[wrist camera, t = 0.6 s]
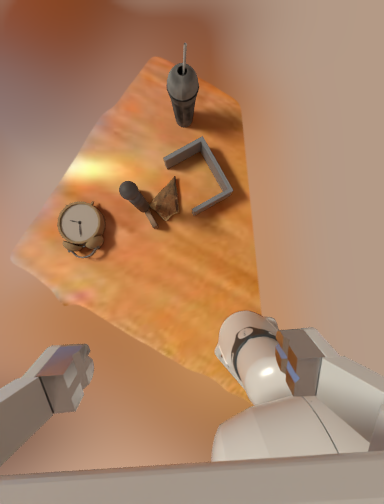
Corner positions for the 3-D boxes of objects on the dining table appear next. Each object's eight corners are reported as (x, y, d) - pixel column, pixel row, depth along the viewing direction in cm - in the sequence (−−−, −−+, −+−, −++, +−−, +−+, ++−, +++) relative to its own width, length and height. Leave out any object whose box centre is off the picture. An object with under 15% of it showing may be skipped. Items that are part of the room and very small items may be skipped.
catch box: (229, 196, 58) (233, 190, 53) (193, 216, 58) (194, 212, 53) (201, 146, 59) (202, 136, 54) (165, 166, 58) (163, 157, 53)
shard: (175, 177, 59) (174, 175, 57) (195, 196, 59) (195, 194, 57) (149, 206, 59) (147, 204, 57) (169, 224, 59) (168, 223, 57)
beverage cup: (165, 121, 59) (153, 51, 39) (182, 101, 59) (178, 21, 39) (186, 137, 59) (184, 76, 39) (202, 117, 59) (208, 45, 39)
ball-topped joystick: (162, 224, 58) (150, 210, 39) (151, 231, 58) (133, 220, 39) (141, 187, 58) (119, 155, 40) (130, 193, 58) (102, 164, 39)
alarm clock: (98, 197, 55) (101, 252, 52) (105, 205, 60) (109, 256, 57) (55, 203, 55) (56, 259, 52) (67, 210, 60) (68, 262, 57)
